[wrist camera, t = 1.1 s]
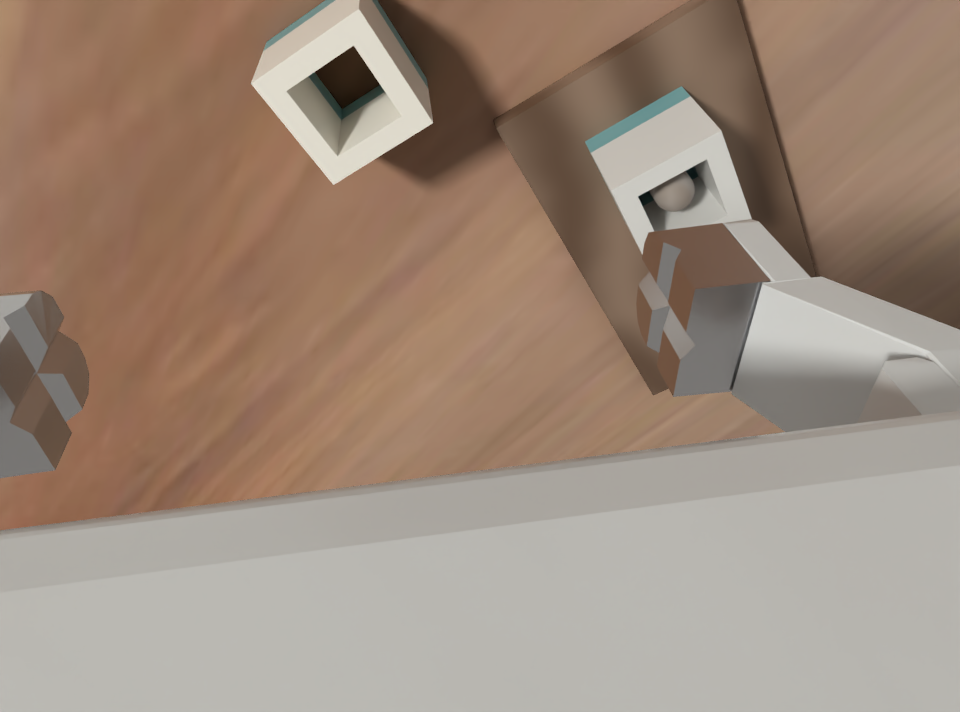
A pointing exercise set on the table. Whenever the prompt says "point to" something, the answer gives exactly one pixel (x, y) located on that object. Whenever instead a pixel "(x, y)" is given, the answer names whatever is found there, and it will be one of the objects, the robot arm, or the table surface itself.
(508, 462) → the table surface
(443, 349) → the table surface
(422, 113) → the cream sleeve
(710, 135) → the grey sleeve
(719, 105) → the pin board
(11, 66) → the table surface
